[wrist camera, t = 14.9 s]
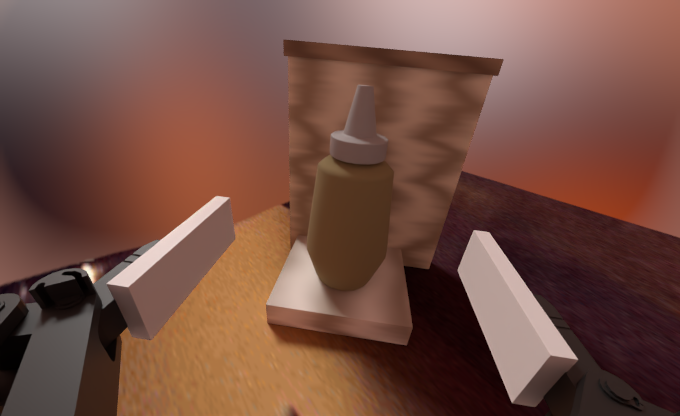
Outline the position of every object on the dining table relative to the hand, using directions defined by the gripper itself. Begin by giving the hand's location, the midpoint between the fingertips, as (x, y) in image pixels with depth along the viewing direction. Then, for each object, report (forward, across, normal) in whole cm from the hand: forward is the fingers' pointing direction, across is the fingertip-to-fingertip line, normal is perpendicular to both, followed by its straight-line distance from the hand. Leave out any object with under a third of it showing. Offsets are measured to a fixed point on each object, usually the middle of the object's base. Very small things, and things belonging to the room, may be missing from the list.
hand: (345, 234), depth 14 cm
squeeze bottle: (+9, 0, -11) cm, 14 cm away
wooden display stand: (+10, +2, -14) cm, 17 cm away
